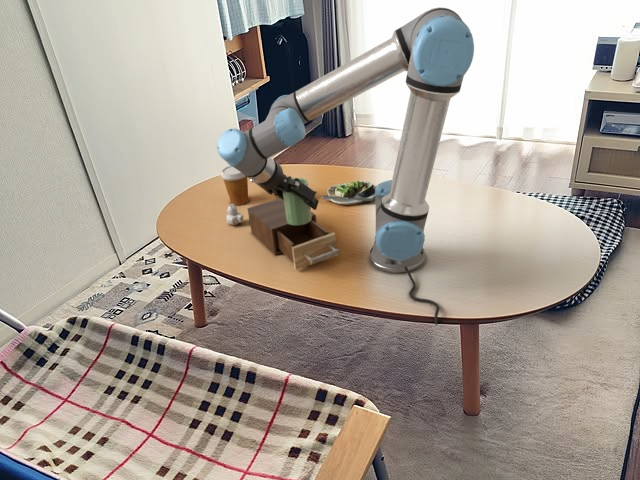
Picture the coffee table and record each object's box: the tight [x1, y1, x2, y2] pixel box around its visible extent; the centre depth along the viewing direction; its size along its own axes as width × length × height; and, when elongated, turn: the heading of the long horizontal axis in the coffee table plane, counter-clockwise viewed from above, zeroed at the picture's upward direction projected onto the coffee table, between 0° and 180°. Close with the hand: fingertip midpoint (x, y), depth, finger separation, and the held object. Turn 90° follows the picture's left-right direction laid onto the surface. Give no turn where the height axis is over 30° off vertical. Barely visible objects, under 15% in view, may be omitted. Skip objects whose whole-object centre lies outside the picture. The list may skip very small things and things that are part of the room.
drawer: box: [275, 219, 341, 271], centre depth 163 cm, size 23×14×7 cm, turn 29°
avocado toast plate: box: [321, 180, 376, 206], centre depth 195 cm, size 19×18×5 cm
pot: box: [282, 177, 312, 225], centre depth 157 cm, size 7×7×11 cm
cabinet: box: [246, 198, 317, 256], centre depth 175 cm, size 18×15×9 cm
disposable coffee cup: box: [220, 165, 249, 206], centre depth 198 cm, size 10×10×12 cm
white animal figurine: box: [225, 202, 244, 226], centre depth 185 cm, size 5×7×8 cm
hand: (304, 203), depth 160 cm, fingers closed on pot, 7 cm apart
